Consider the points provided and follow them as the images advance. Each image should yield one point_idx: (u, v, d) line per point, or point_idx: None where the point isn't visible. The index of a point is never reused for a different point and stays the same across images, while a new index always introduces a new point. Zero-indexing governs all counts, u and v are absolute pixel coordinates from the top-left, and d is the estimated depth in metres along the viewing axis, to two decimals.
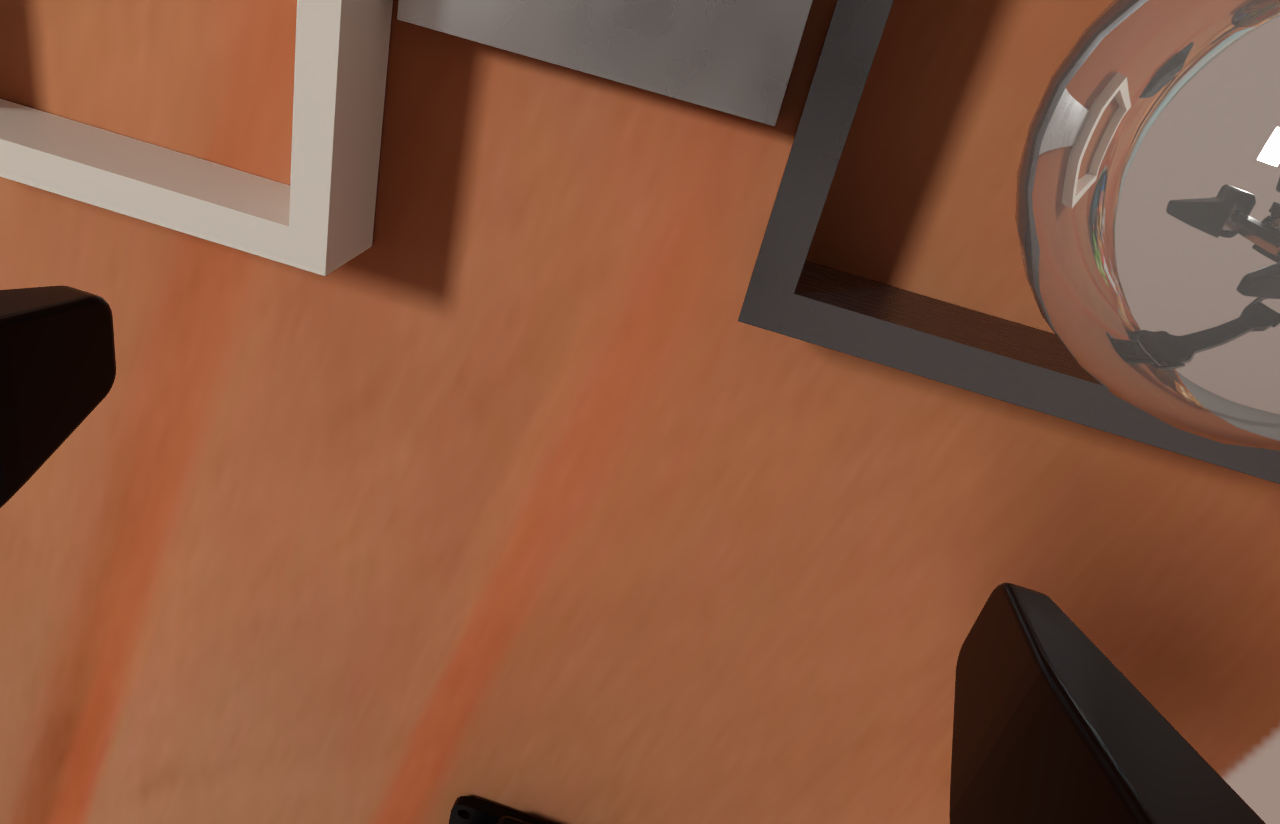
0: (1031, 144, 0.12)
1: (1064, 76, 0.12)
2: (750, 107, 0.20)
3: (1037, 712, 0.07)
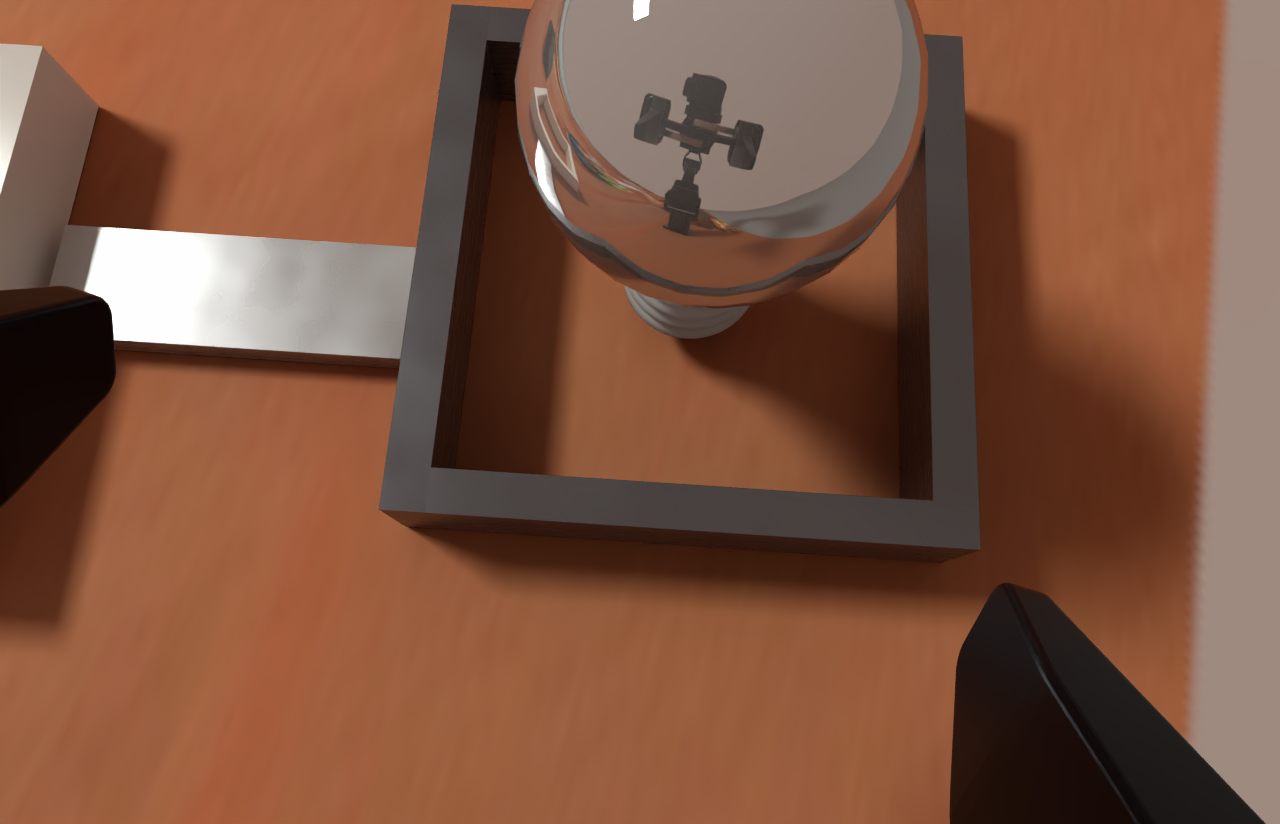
0: None
1: None
2: (375, 347, 0.22)
3: (1036, 712, 0.07)
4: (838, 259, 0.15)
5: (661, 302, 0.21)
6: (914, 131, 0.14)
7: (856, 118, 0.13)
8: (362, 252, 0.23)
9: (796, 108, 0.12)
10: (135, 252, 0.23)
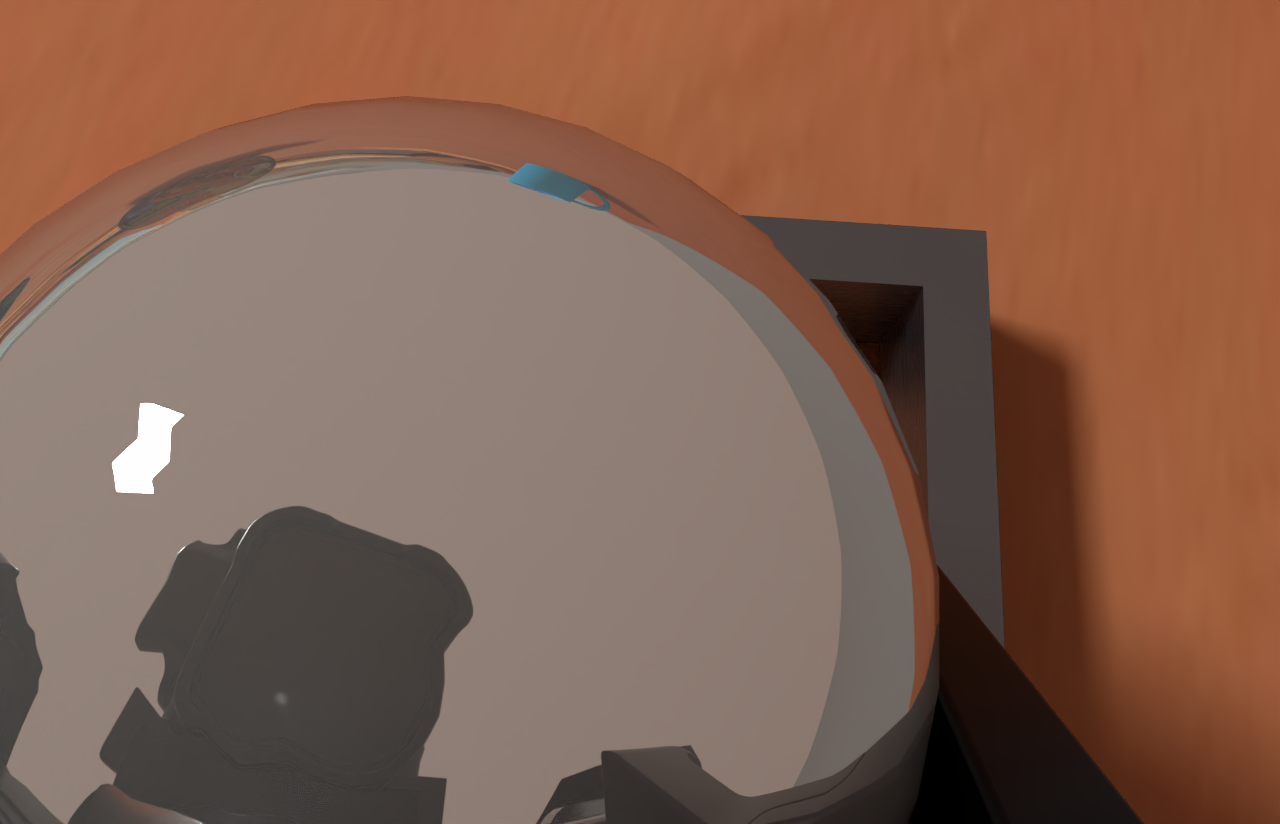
0: None
1: None
2: None
3: None
4: None
5: None
6: None
7: None
8: None
9: None
10: None
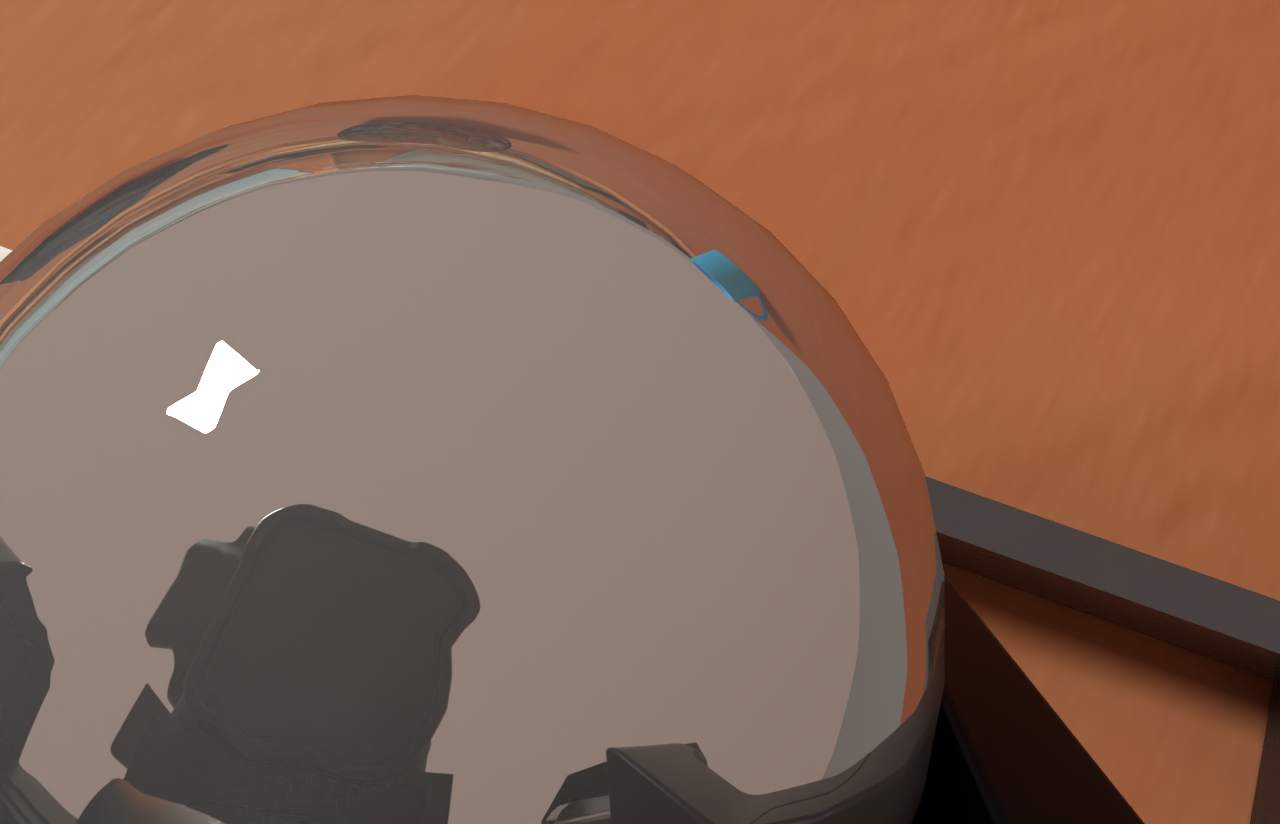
0: None
1: None
2: None
3: None
4: None
5: None
6: None
7: None
8: None
9: None
10: None
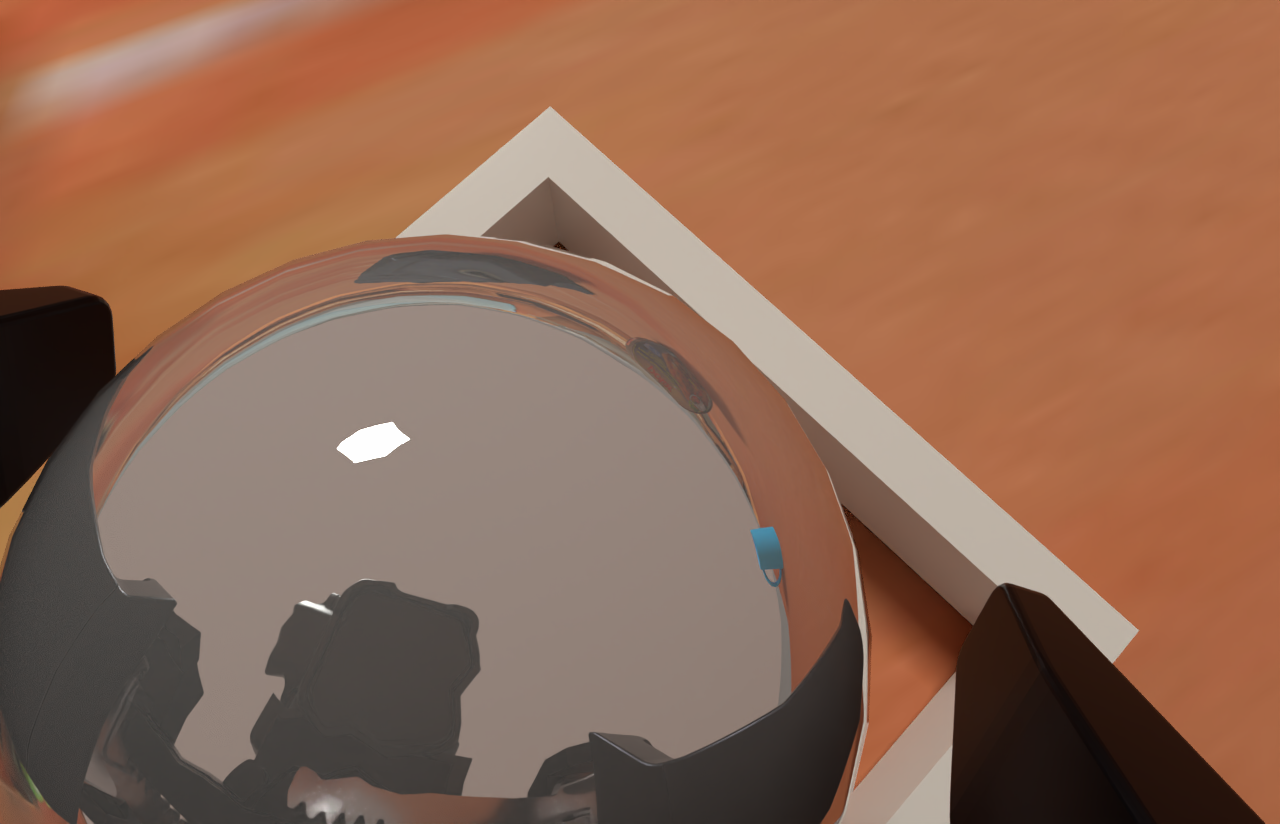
0: None
1: None
2: None
3: (1037, 712, 0.07)
4: None
5: None
6: None
7: None
8: None
9: None
10: None
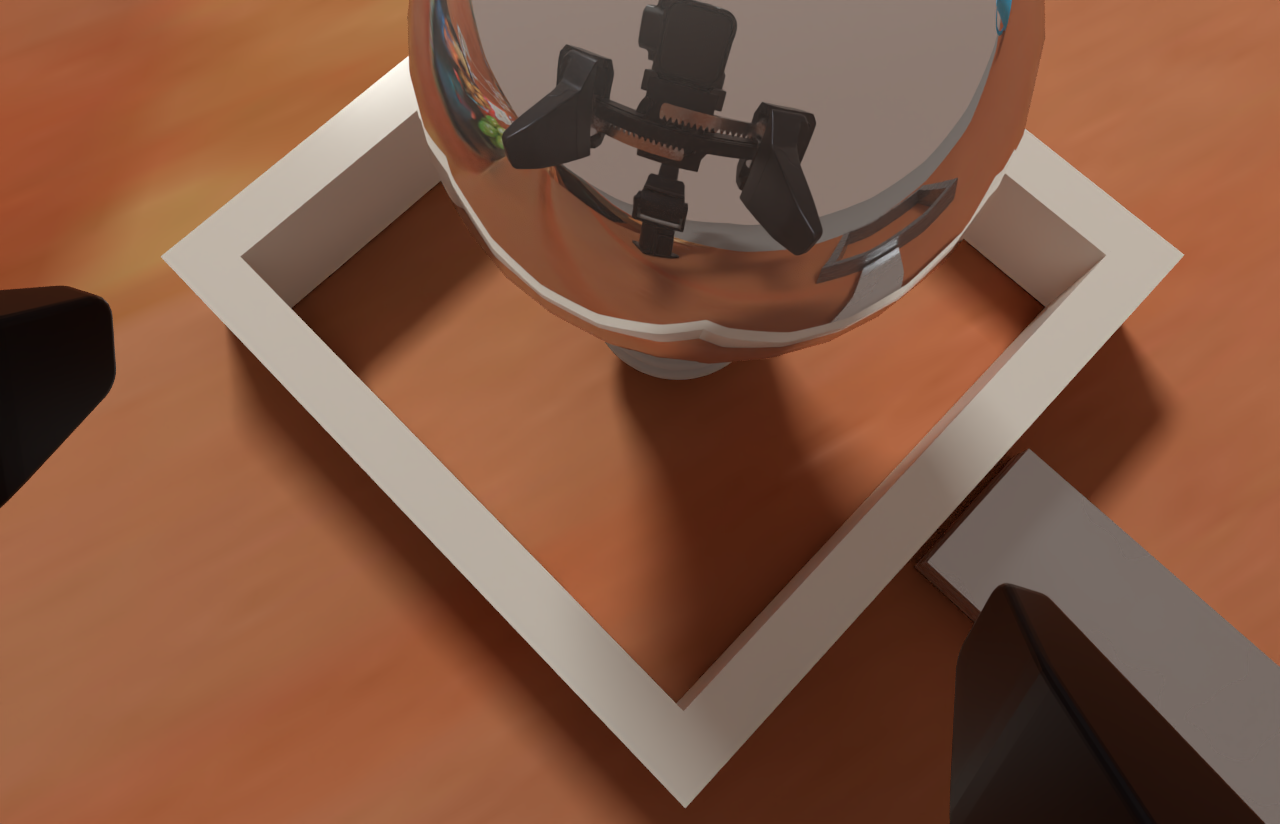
0: None
1: None
2: None
3: (1037, 712, 0.07)
4: (896, 299, 0.10)
5: None
6: (1025, 104, 0.09)
7: (947, 78, 0.08)
8: None
9: (849, 58, 0.07)
10: (1090, 545, 0.17)
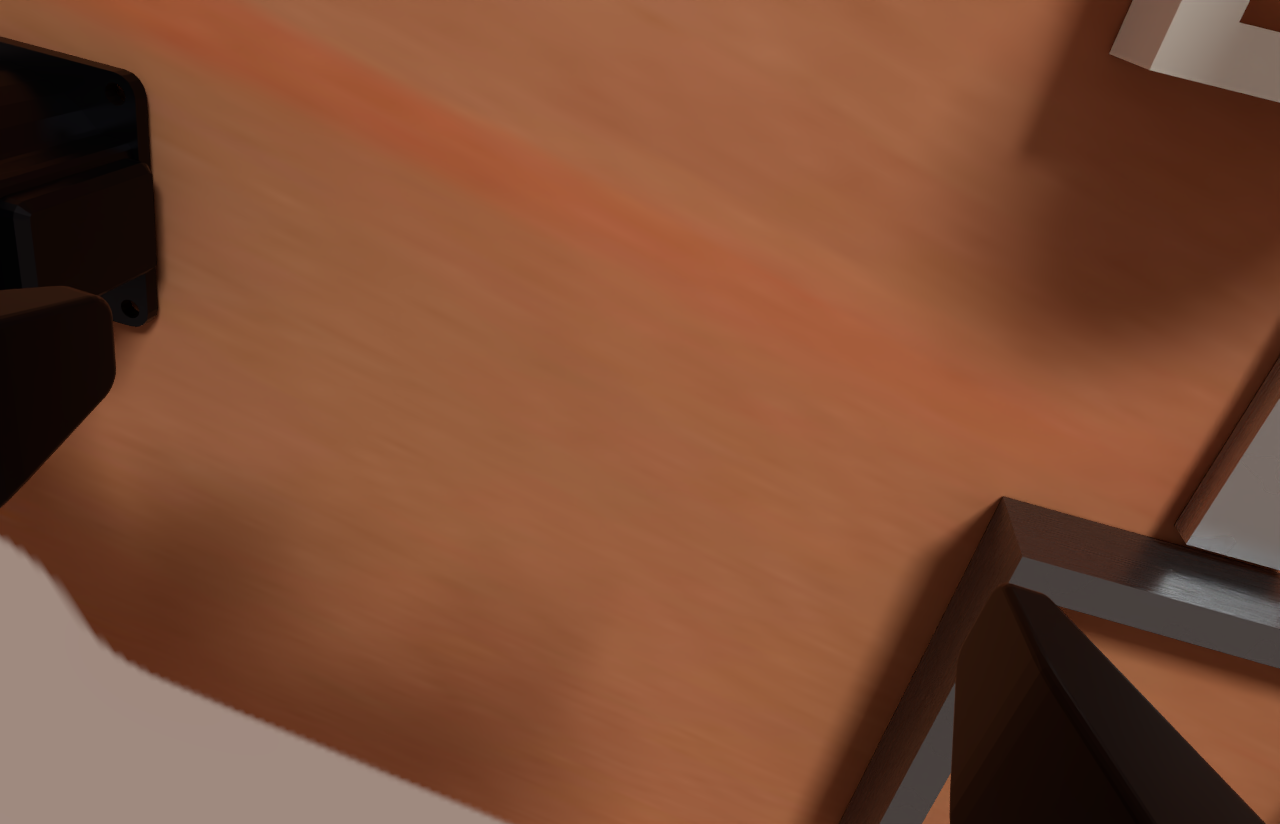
0: None
1: None
2: (1210, 525, 0.21)
3: (1037, 712, 0.07)
4: None
5: None
6: None
7: None
8: None
9: None
10: None
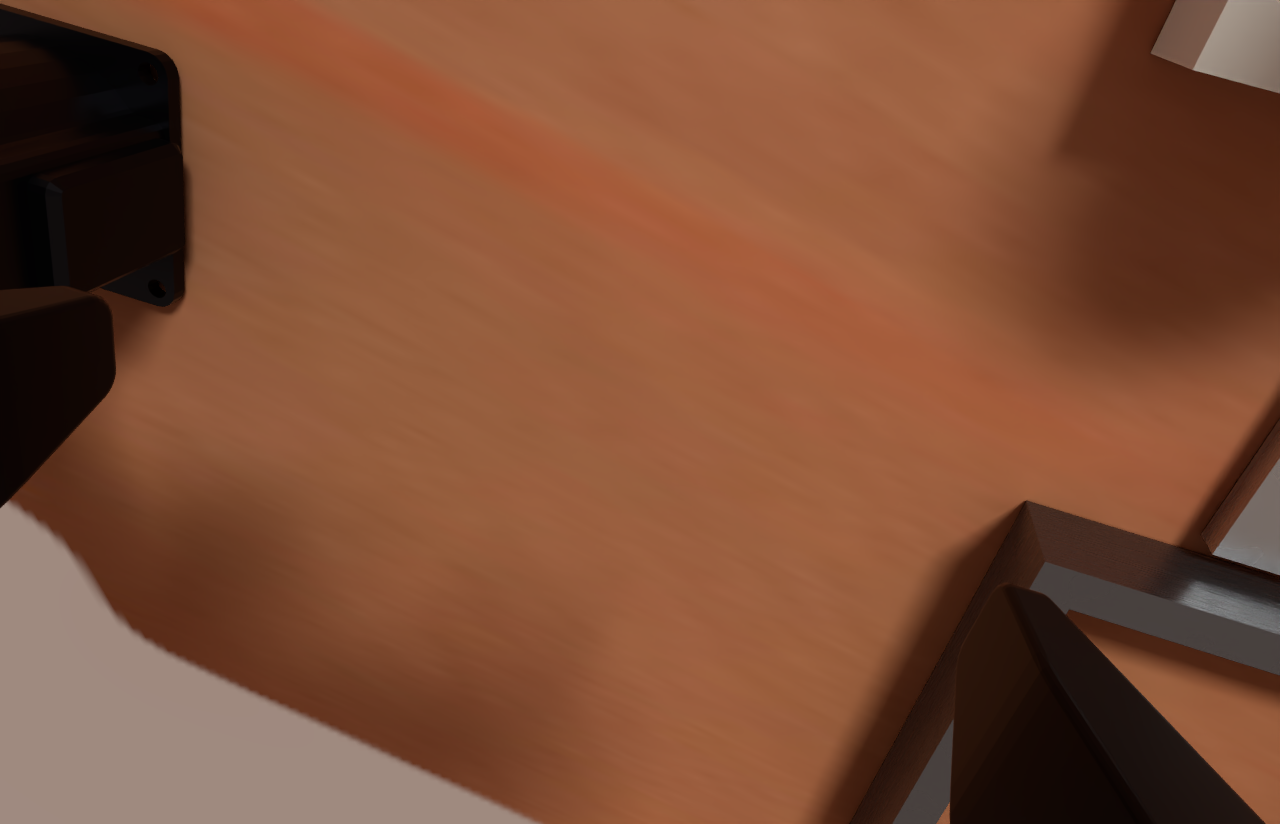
0: None
1: None
2: (1238, 536, 0.21)
3: (1037, 712, 0.07)
4: None
5: None
6: None
7: None
8: None
9: None
10: None
